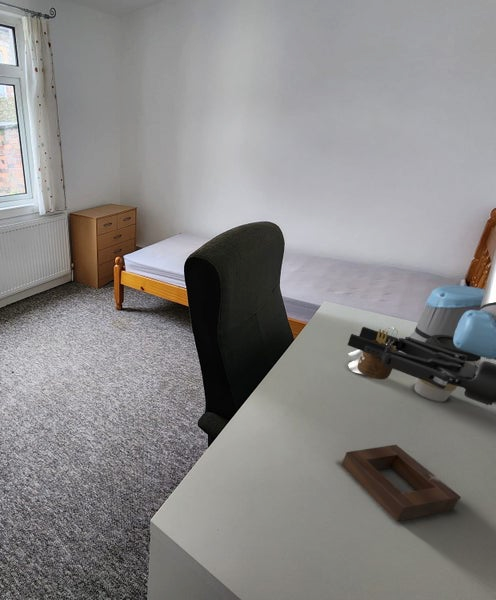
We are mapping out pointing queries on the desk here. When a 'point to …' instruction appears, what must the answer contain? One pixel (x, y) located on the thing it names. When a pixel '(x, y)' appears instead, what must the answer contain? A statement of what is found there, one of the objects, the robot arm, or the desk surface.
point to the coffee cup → (442, 394)
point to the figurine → (354, 364)
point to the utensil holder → (376, 360)
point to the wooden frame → (402, 505)
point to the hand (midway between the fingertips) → (355, 335)
